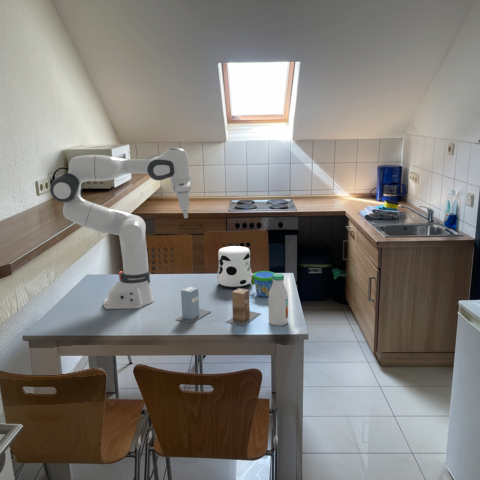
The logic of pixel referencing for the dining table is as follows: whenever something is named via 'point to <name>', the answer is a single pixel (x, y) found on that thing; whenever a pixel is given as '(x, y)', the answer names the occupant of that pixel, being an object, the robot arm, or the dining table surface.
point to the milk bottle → (278, 301)
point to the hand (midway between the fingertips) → (185, 215)
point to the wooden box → (240, 304)
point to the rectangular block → (190, 303)
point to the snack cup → (262, 282)
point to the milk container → (234, 267)
